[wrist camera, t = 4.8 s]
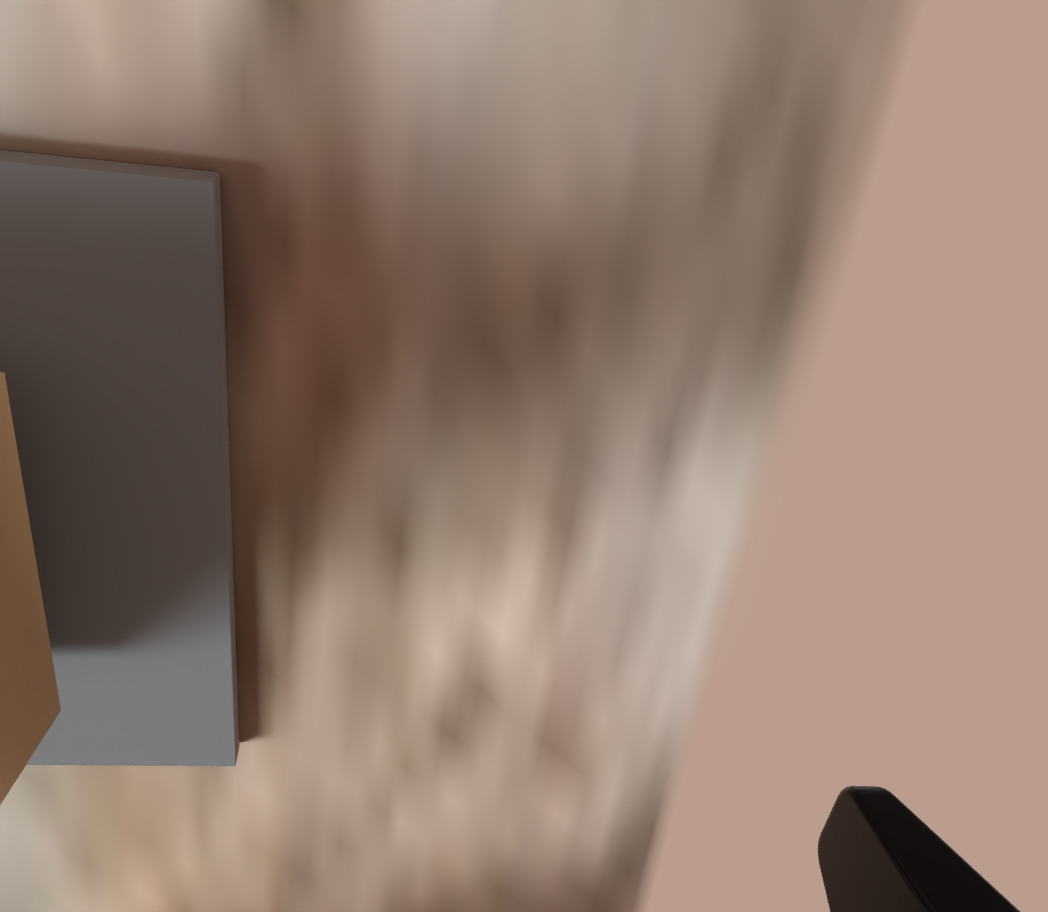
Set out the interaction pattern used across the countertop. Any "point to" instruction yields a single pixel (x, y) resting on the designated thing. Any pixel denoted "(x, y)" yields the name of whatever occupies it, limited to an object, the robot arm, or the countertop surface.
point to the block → (20, 621)
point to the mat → (124, 451)
